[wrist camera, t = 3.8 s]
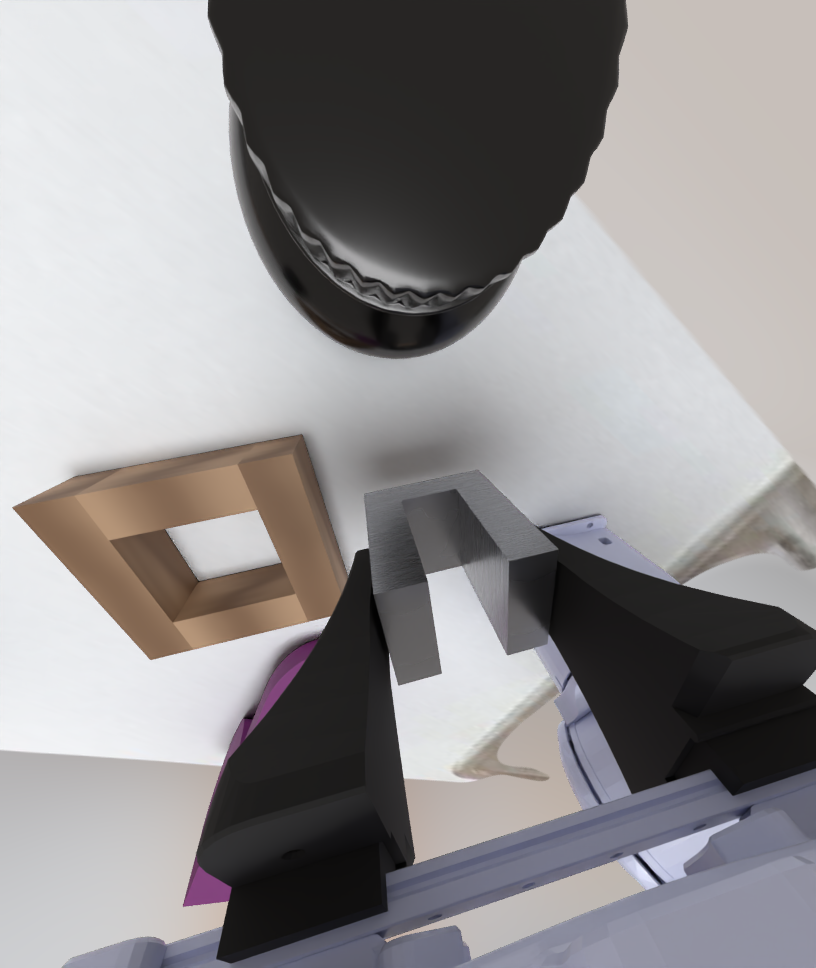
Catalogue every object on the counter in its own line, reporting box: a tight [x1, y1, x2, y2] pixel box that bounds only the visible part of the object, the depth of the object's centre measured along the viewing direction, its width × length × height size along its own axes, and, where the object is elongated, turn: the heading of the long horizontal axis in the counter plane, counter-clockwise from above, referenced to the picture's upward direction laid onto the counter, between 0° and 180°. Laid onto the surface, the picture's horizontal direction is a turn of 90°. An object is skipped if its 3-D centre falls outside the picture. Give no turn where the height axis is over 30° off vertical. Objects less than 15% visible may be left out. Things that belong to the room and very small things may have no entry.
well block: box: [12, 435, 348, 660], centre depth 17 cm, size 12×11×3 cm
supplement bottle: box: [208, 0, 628, 359], centre depth 9 cm, size 7×7×12 cm
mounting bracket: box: [183, 639, 318, 907], centre depth 26 cm, size 9×8×18 cm
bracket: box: [364, 470, 559, 685], centre depth 11 cm, size 5×4×6 cm
